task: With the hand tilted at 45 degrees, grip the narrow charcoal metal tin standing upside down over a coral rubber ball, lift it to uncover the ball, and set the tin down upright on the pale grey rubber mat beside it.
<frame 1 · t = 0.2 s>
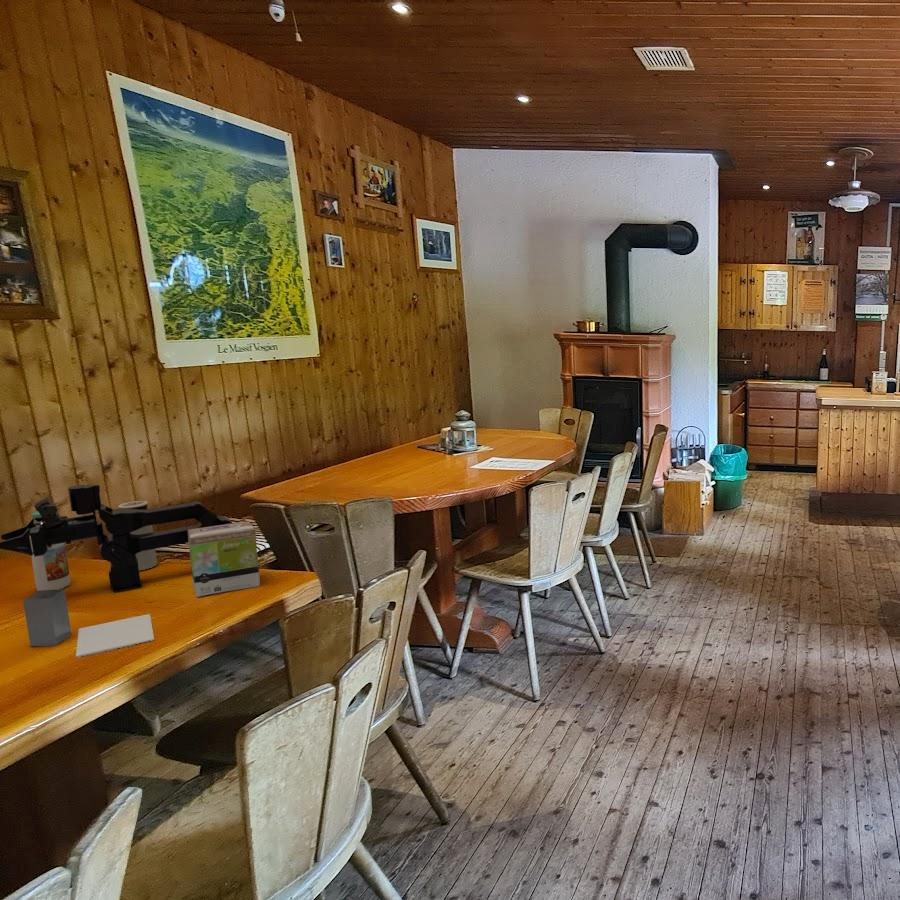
ball: (50, 633, 144), in the tin
milk bottle: (54, 588, 180), on the table
mat: (115, 635, 145), on the table
tea box: (227, 587, 172), on the table
tin: (51, 640, 144), on the table
travel mug: (141, 568, 193), on the table
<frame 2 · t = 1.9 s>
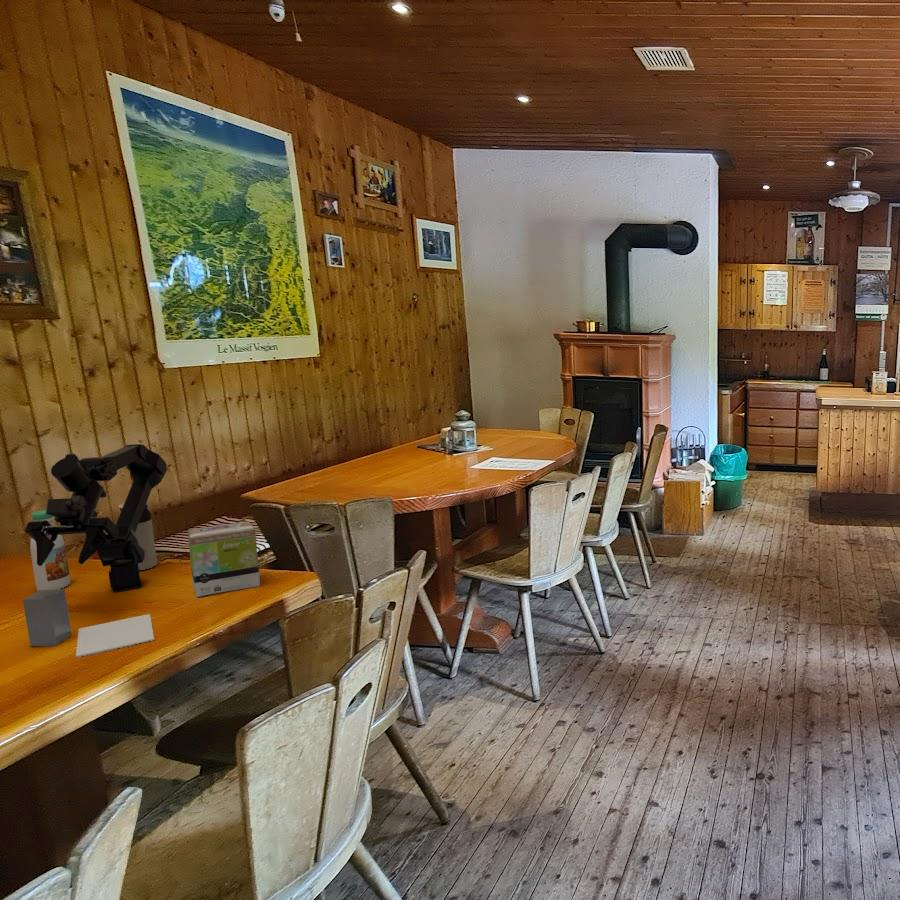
hand: (59, 564, 150), 14 cm above the table, tool tilted 45°, fingers open, 9 cm apart
nothing on the table moved.
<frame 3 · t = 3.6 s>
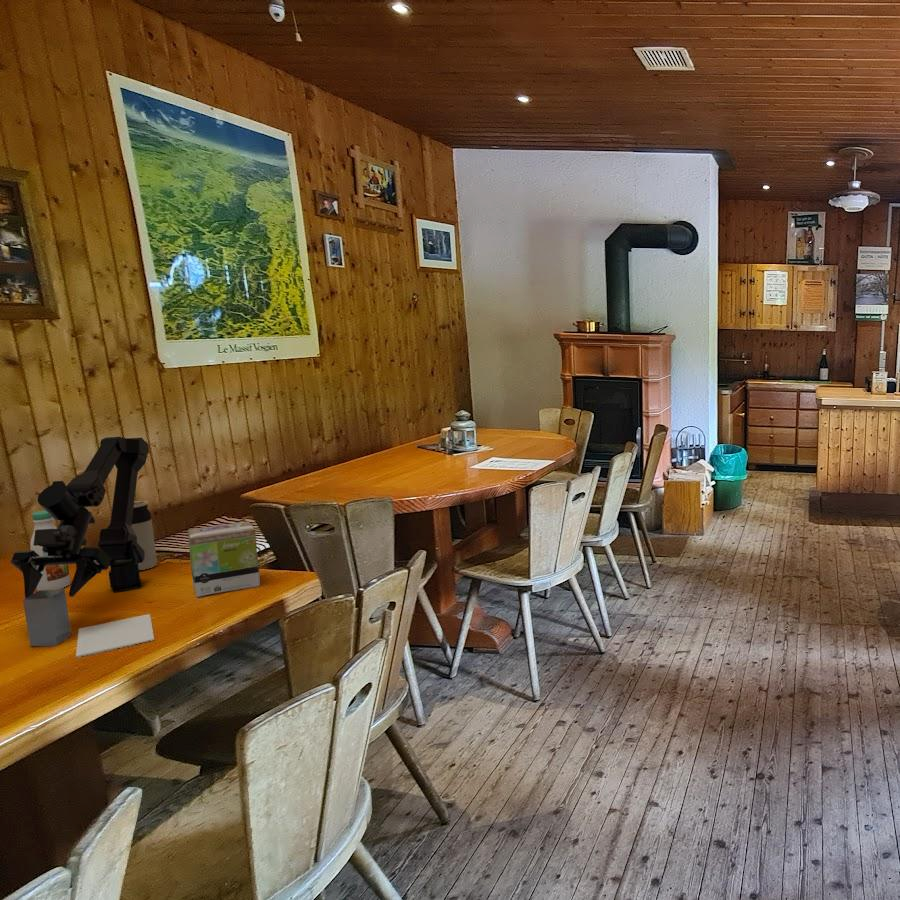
hand: (48, 597, 144), 9 cm above the table, tool tilted 45°, fingers open, 9 cm apart
nothing on the table moved.
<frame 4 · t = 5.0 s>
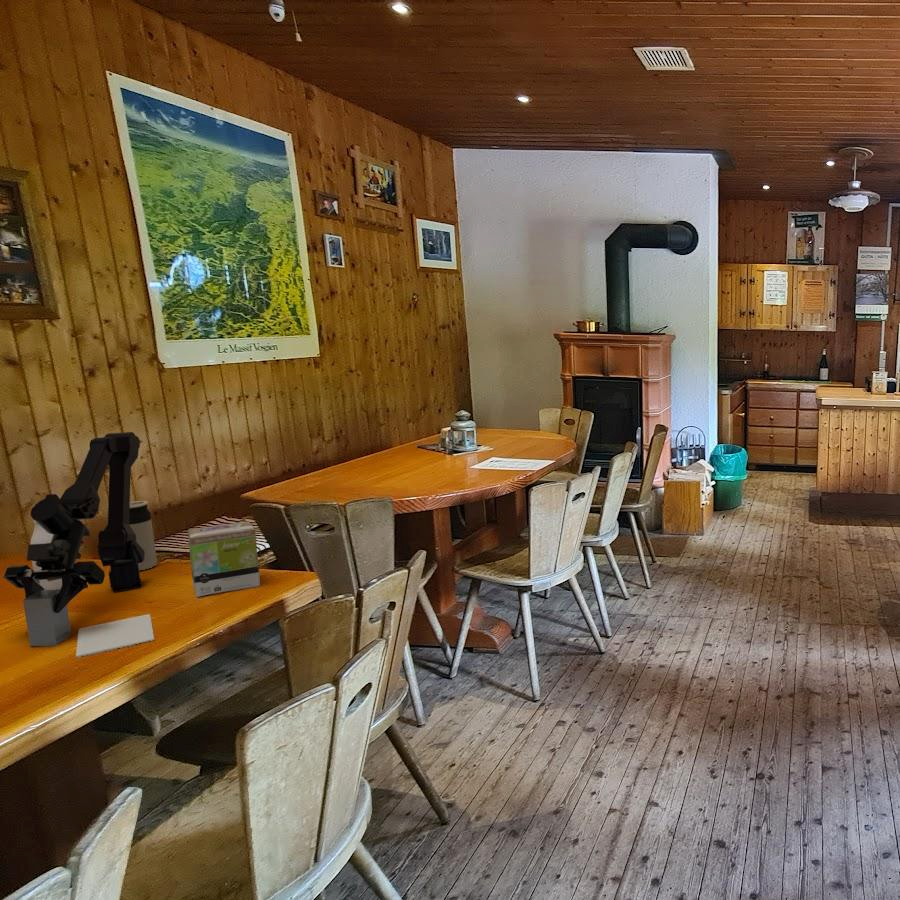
hand: (42, 613, 142), 7 cm above the table, tool tilted 45°, fingers closed on tin, 5 cm apart
tin: (51, 640, 144), on the table, touching gripper
everything else where it was.
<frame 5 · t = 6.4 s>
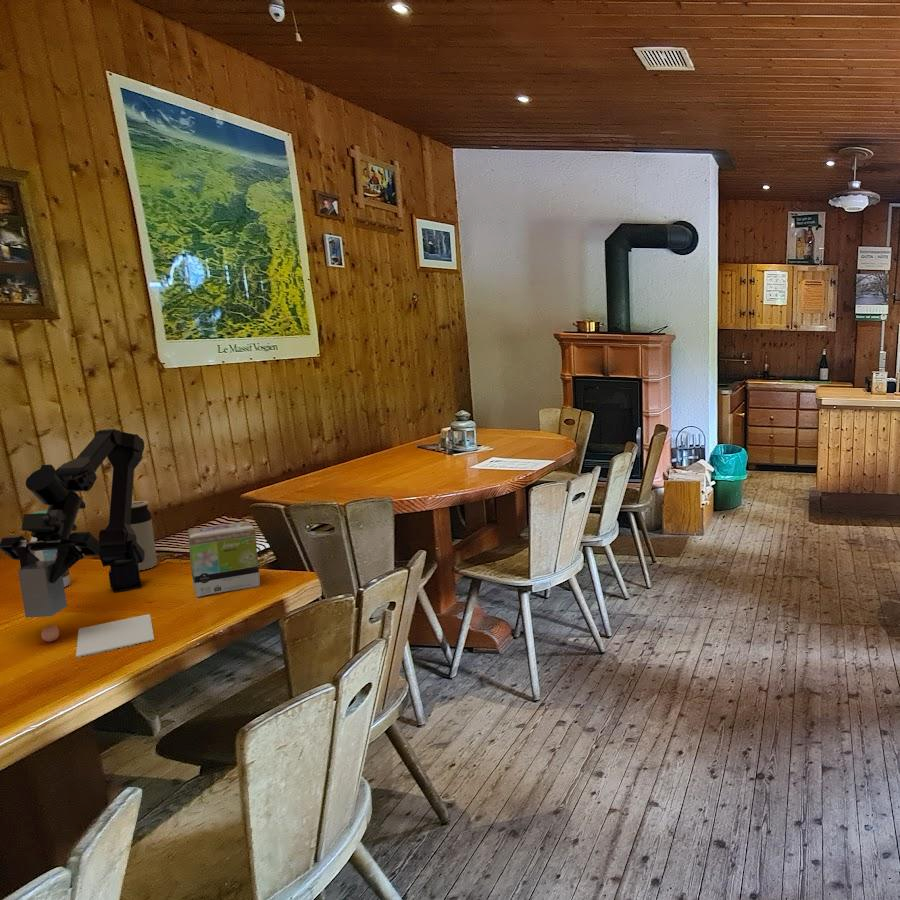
hand: (37, 583, 141), 13 cm above the table, tool tilted 45°, fingers closed on tin, 5 cm apart
tin: (46, 611, 143), point 6 cm above the table, touching gripper
everything else where it was.
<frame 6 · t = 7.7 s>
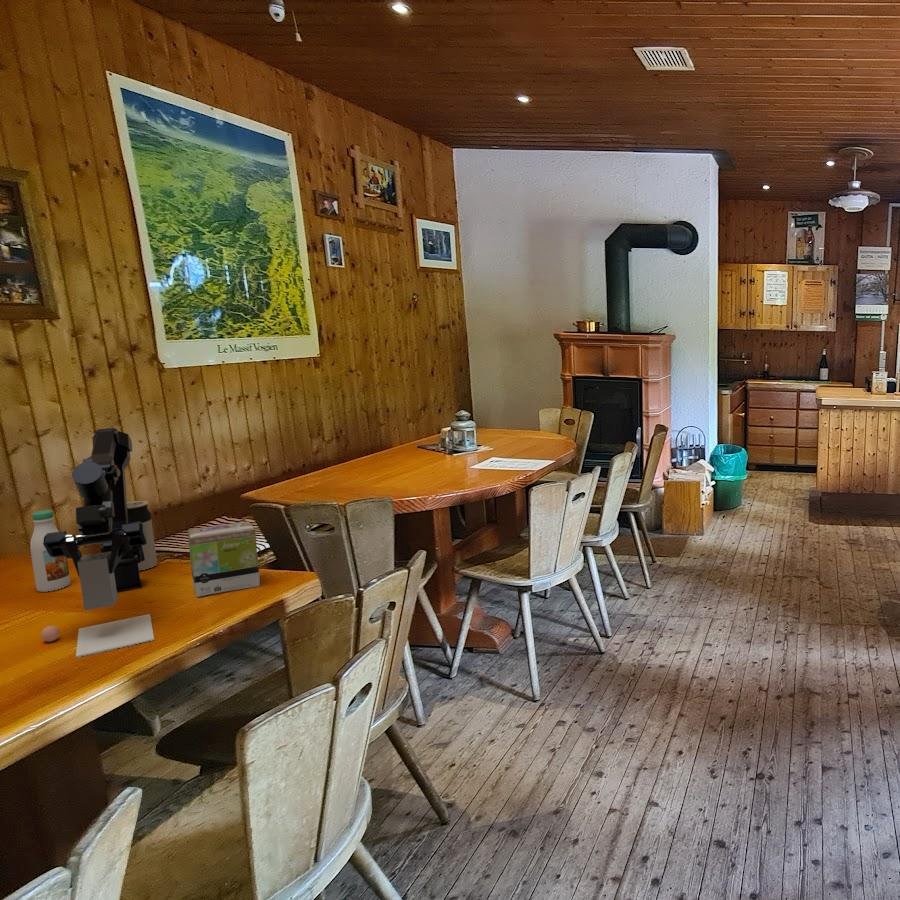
hand: (95, 574, 142), 13 cm above the table, tool tilted 45°, fingers closed on tin, 5 cm apart
tin: (101, 603, 144), point 7 cm above the table, touching gripper
everything else where it was.
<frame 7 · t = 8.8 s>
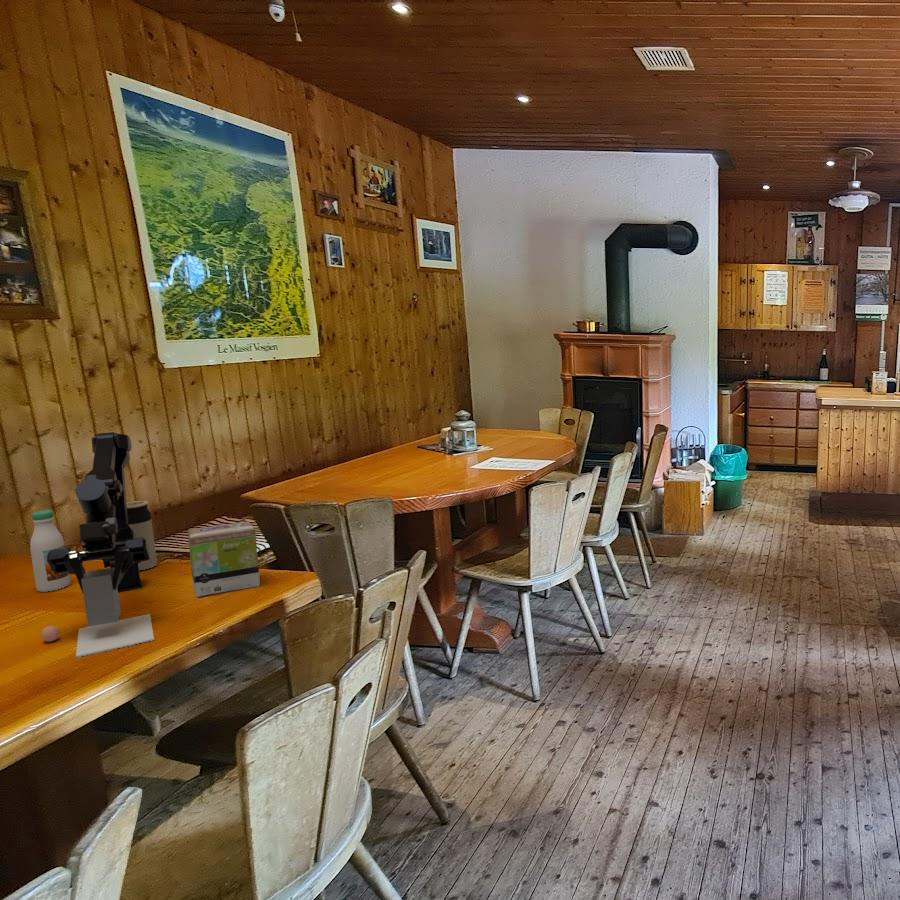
hand: (99, 591, 143), 10 cm above the table, tool tilted 45°, fingers closed on tin, 5 cm apart
tin: (104, 619, 145), point 3 cm above the table, touching gripper
everything else where it was.
when the fingers open (8 cm above the table, at t = 9.5 s): tin drops 2 cm, resting on mat.
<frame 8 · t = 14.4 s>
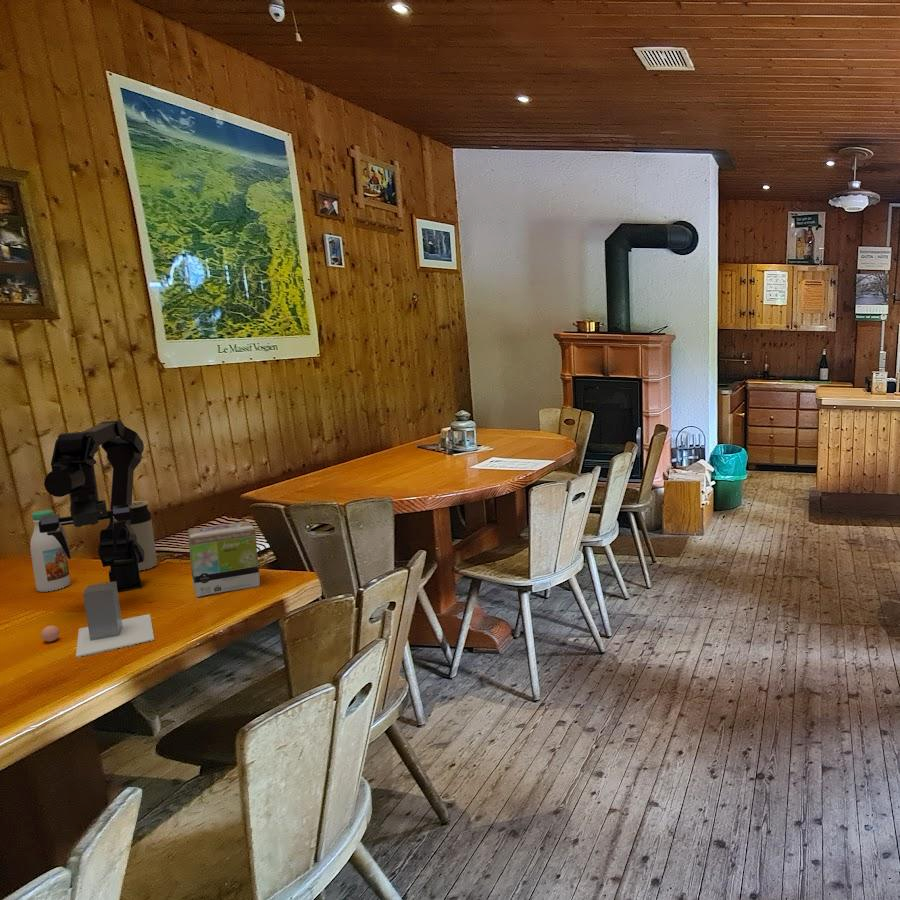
hand: (92, 554, 160), 13 cm above the table, tool pointing down, fingers open, 9 cm apart
tin: (106, 633, 145), resting on mat
everything else where it was.
at the end: tin inside the target area (0.2 cm from its centre), resting on mat; tin tilted 0°; the gripper is holding nothing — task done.
